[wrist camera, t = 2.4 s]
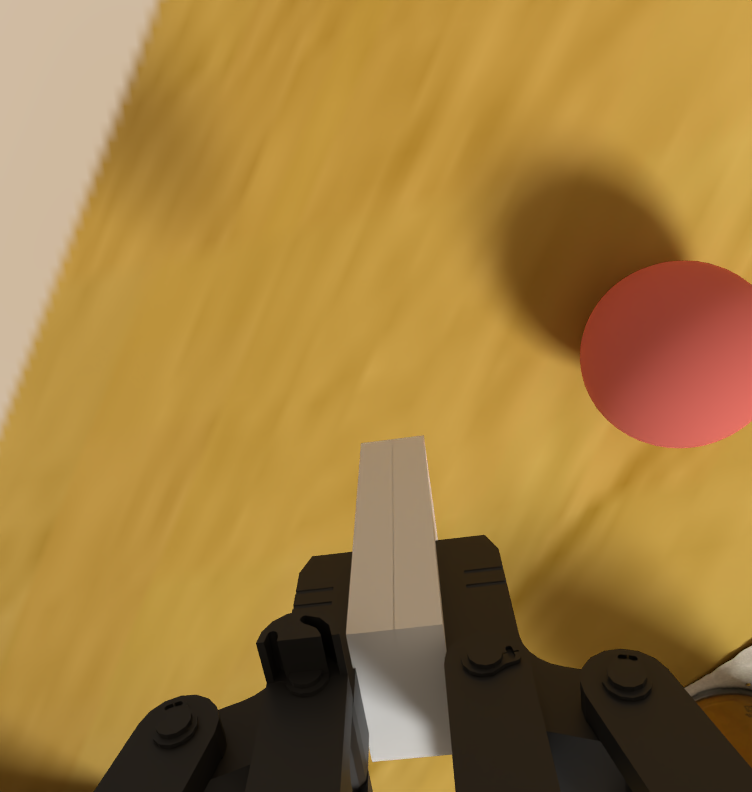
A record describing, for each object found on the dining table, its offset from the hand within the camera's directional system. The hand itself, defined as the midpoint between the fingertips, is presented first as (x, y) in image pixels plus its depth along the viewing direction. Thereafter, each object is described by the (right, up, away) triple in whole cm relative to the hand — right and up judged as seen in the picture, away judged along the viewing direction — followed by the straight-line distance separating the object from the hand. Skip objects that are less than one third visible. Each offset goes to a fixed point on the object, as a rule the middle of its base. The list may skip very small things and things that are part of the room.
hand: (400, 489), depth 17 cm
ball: (+9, +4, +6) cm, 11 cm away
